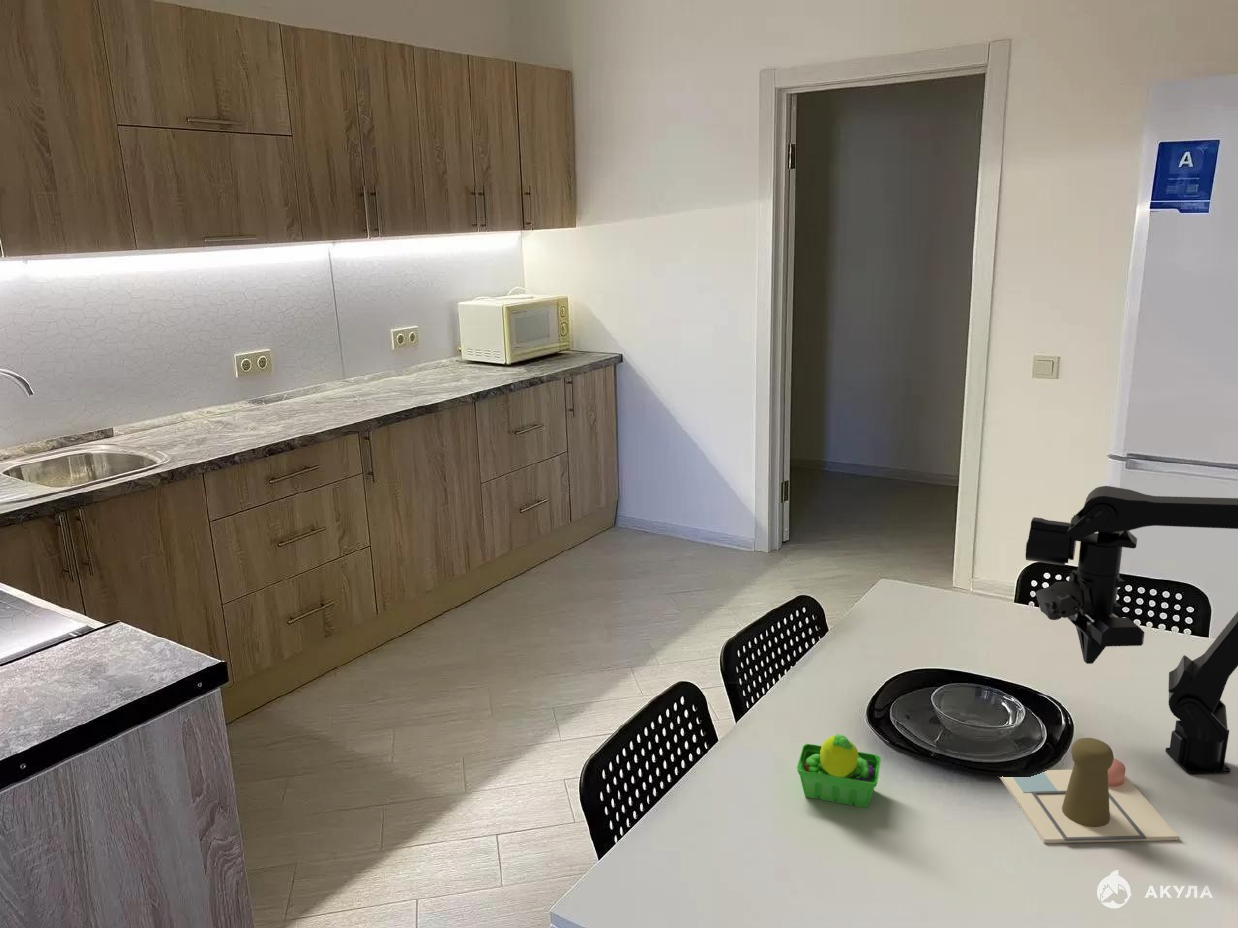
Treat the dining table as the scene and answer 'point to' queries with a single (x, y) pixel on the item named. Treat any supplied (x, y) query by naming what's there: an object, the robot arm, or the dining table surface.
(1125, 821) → the colouring board
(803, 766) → the fruit basket
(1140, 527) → the robot arm
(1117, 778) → the button
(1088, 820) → the cork
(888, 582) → the dining table surface
